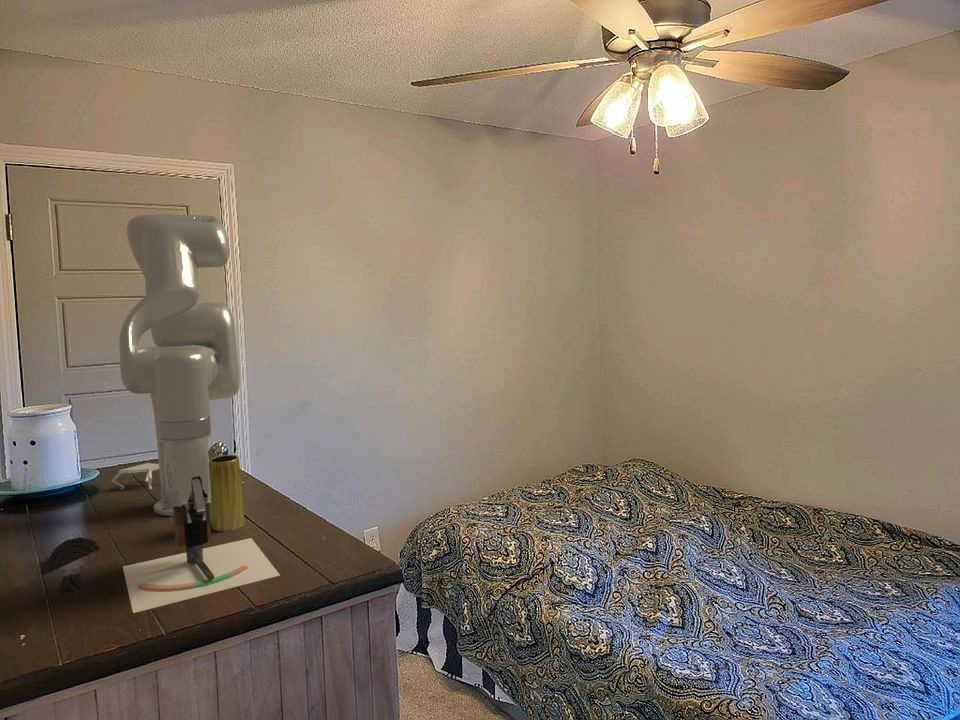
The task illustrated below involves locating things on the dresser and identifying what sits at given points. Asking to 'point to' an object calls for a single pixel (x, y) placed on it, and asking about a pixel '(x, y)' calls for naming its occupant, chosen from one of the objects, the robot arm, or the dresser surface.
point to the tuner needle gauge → (192, 552)
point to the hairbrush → (70, 559)
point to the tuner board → (195, 574)
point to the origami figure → (140, 468)
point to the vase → (226, 493)
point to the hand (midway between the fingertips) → (193, 539)
